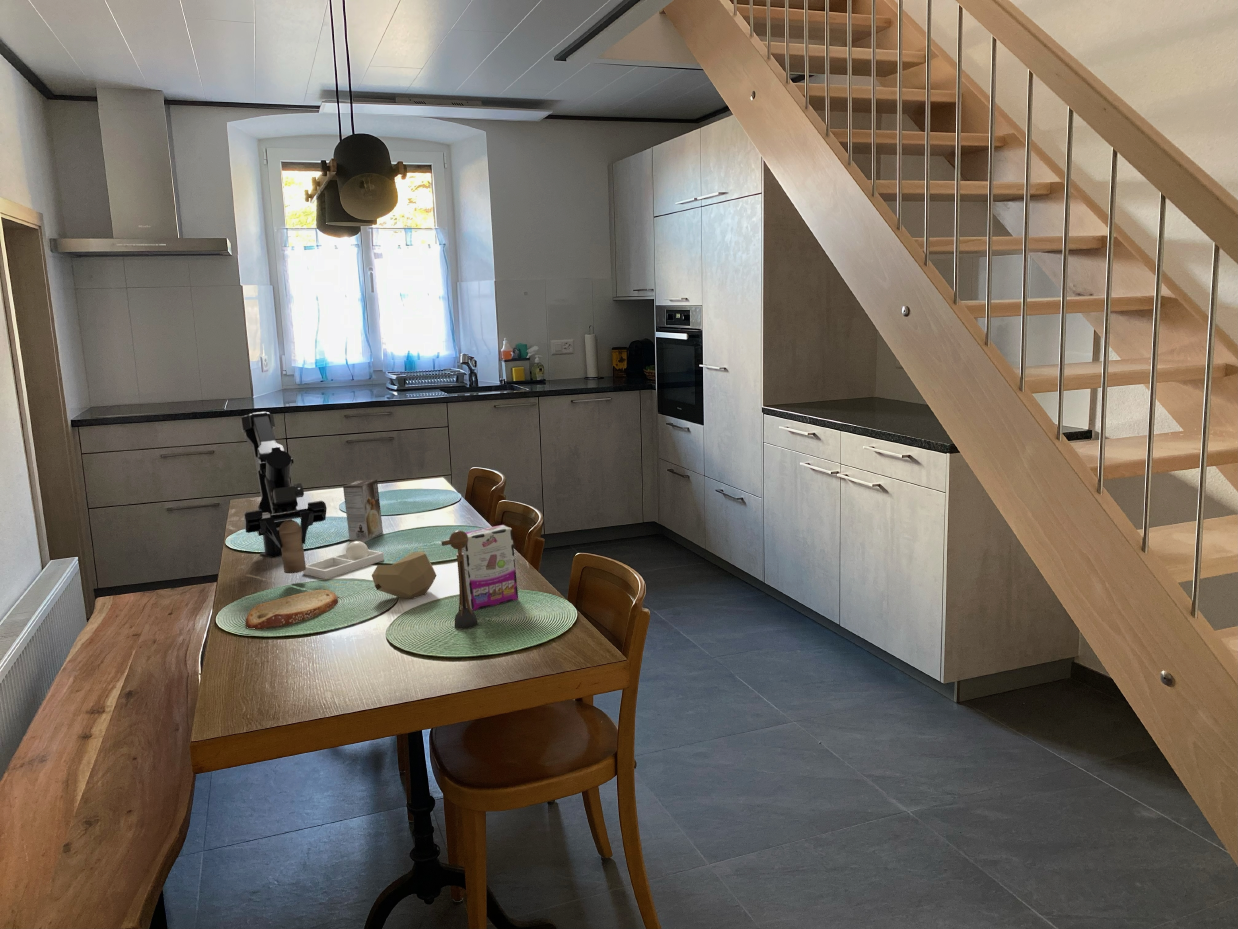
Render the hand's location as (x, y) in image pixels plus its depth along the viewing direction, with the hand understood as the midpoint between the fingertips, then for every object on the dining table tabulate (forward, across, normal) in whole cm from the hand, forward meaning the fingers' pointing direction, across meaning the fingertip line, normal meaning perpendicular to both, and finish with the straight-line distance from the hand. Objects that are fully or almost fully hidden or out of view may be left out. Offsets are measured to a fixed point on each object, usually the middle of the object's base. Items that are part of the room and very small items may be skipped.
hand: (292, 545), depth 216 cm
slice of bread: (+22, -4, -7) cm, 23 cm away
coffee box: (-19, +25, +34) cm, 46 cm away
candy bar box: (+36, +34, -22) cm, 54 cm away
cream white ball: (0, +17, +13) cm, 21 cm away
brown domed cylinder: (+4, 0, +6) cm, 7 cm away
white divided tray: (+2, +13, +12) cm, 18 cm away
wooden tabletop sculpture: (+43, +24, -29) cm, 58 cm away
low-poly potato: (+25, +20, -10) cm, 33 cm away
